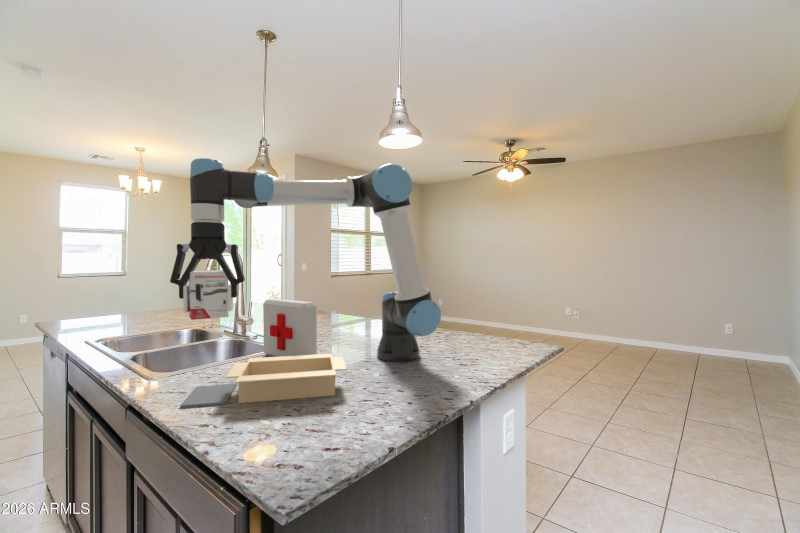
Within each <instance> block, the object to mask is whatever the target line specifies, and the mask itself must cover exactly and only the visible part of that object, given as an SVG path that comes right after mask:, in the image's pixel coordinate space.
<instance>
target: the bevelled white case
mask: <svg viewBox="0 0 800 533" xmlns="http://www.w3.org/2000/svg"><path fill="white" fill-rule="evenodd" d="M262 306H263V314H262V315H263V353H264V355H266V356H268V357H280V356H298V355H315V354H318V352H317V350H318V346H317V344H318V340H317V339H318V336H317V333H318V331H317V327H318V326H317V317H318V316H317V314H318V312H317V309H318V307H317V304H316V303H315V302H314V301H306V300H305V301H303V300H294V299H283V298H271V299H266V300H265V301H264V302H263V304H262Z"/></svg>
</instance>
